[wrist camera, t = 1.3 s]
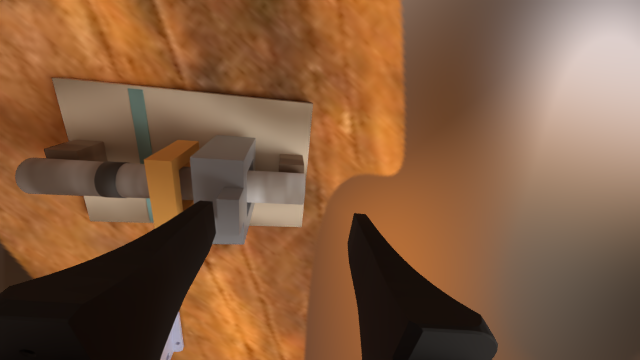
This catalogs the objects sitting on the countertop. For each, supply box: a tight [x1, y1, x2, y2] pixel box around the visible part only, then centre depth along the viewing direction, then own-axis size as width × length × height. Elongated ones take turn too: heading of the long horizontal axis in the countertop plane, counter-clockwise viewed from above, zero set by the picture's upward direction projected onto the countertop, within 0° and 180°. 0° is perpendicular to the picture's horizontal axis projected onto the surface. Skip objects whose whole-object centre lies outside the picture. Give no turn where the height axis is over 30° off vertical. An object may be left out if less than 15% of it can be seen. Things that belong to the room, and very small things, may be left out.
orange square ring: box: [144, 140, 199, 228], centre depth 18 cm, size 5×2×5 cm, turn 174°
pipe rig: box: [15, 78, 313, 227], centre depth 20 cm, size 12×19×6 cm, turn 84°
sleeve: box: [190, 135, 256, 244], centre depth 18 cm, size 6×3×8 cm, turn 174°
